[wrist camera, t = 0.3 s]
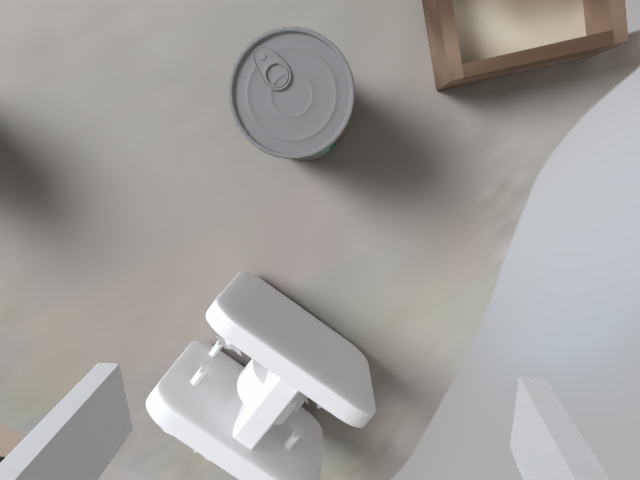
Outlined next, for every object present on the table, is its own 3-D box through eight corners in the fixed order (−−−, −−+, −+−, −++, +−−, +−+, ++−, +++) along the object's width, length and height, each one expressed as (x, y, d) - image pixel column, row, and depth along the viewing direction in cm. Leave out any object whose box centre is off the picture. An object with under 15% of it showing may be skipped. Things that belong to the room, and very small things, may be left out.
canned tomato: (367, 122, 38) (381, 105, 27) (296, 178, 39) (282, 184, 28) (311, 46, 37) (301, -3, 26) (240, 106, 38) (202, 83, 27)
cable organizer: (375, 355, 41) (390, 428, 30) (310, 435, 43) (301, 533, 32) (246, 263, 40) (211, 302, 29) (184, 348, 42) (128, 418, 31)
